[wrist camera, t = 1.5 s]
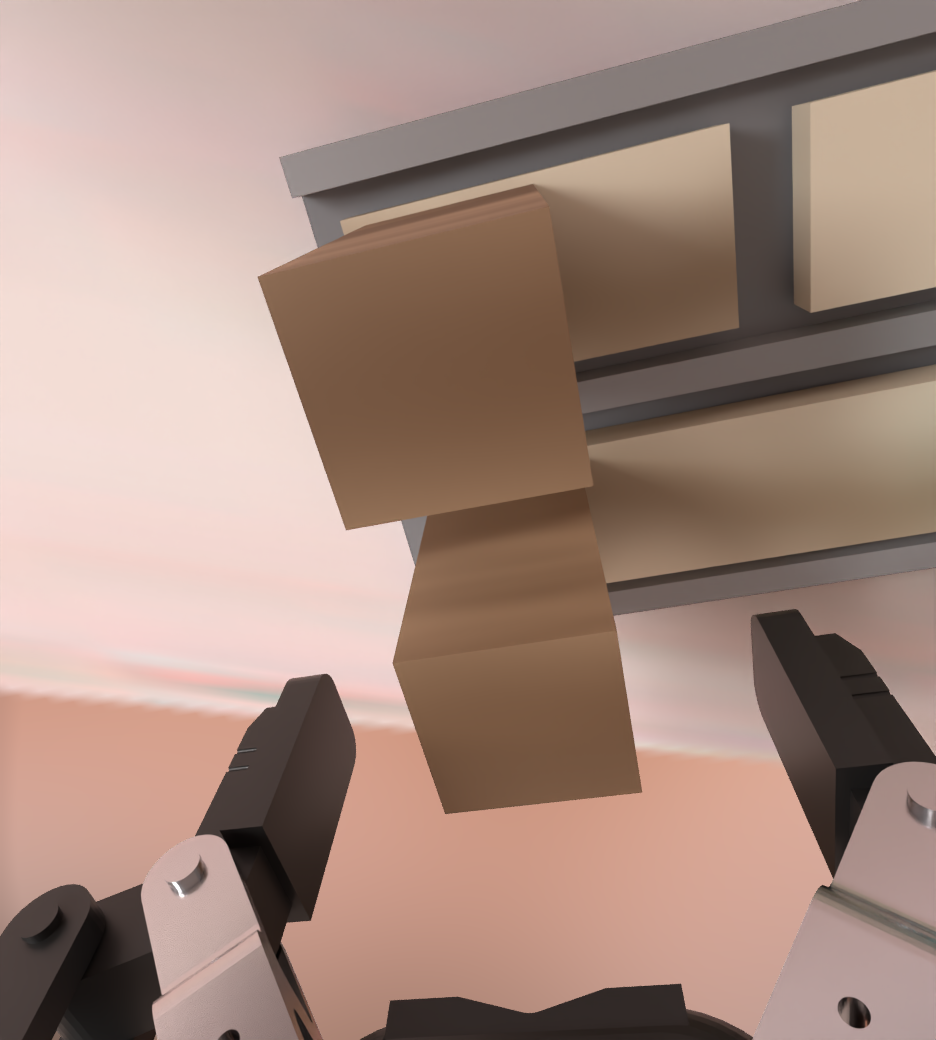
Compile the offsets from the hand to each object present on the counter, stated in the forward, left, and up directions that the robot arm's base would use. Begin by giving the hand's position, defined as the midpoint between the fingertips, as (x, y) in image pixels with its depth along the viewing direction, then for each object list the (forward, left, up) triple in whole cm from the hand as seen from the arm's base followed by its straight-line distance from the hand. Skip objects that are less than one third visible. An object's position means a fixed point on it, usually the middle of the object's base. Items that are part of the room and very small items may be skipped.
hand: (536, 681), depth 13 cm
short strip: (-6, +1, -6) cm, 9 cm away
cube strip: (0, +7, -7) cm, 10 cm away
